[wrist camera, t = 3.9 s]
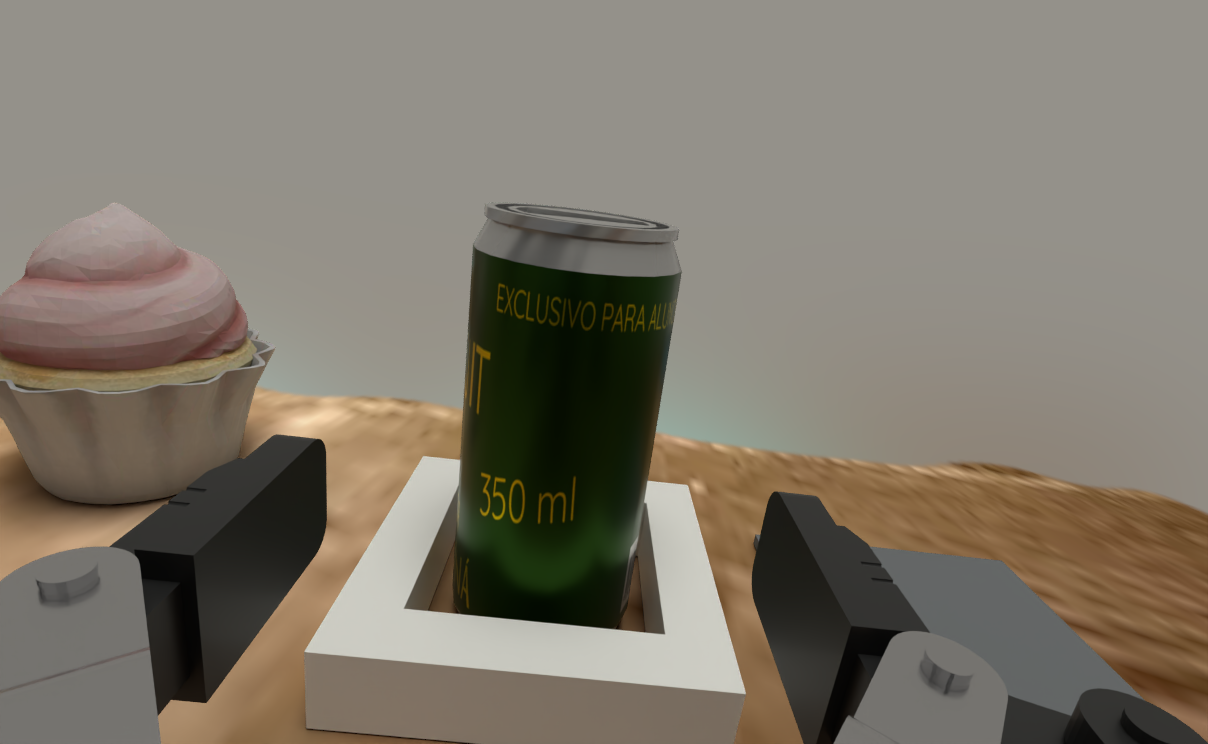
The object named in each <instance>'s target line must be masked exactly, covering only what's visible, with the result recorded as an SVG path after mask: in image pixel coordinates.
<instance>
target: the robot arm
mask: <svg viewBox="0 0 1208 744" xmlns="http://www.w3.org/2000/svg"><path fill="white" fill-rule="evenodd" d="M326 521H327V493H326V449H325V445H324V443H323V441H322V440H320V439H313V438H304V437H295V436H287V435H274V436H272V437H271V438H270V439H268V440H267V441H266V442H265V443H263V444H262V445H261V446H260V447H259V448H257V449H256V450H255V451H254V452H252V453H251V454H250V455H249V456H248V457H246V458H245V459H241V458H238V459H235V460H233V461H230V462H228V463H226V464H223V465H221V466H218V467H216V468H214V469H211V470H209V471H207V472H206V473H204V474H203V475H202V476H201V477H199V478H198V479H197V480H195V481H194V482H193V483H191V484H190V485H189V486H188V487H187V489H186V491H183V490H182V491H181V492H180V493H179V494H177V495H176V496H175V497H173V498H172V499H171V500H169V503H168V505H163V506H162V507H160V508H159V509H158V510H156V511H155V512H154V513H153V514H151V515H150V516H149V517H147V518H146V519H145V520H143V521H142V522H141V523H140V524H138V525H137V526H136V527H134V528H133V529H132V530H130V531H129V532H128V533H127V534H125V535H124V536H123V537H121V538H120V539H119V540H118V541H116V542H115V543H114V544H112V545H111V546H110V547H86V548H79V549H73V550H68V551H63V552H59V553H56V554H52V555H49V556H46V557H43V558H40V559H38V560H35V561H33V562H31V563H29V564H26V565H24V566H22V567H20V568H19V569H17V570H15V571H14V572H12V573H11V574H9V575H8V576H6V577H5V578H4V579H3V580H1V581H0V744H161V740H160V731H159V723H158V715H159V714H160V713H161V711H162V710H163V709H164V708H165V706H166V705H167V704H168V703H169V702H170V700H179V701H190V702H201V703H207V702H208V700H209V699H210V698H211V696H212V695H213V693H214V692H215V691H216V689H217V688H218V687H219V685H220V684H221V683H222V681H223V680H224V679H225V677H226V676H227V675H228V673H229V672H230V670H231V669H232V668H233V666H234V665H235V664H236V662H237V661H238V660H239V658H240V657H241V656H242V654H243V653H244V651H245V650H246V649H247V647H248V646H249V645H250V643H251V642H252V641H253V639H254V638H255V637H256V635H257V634H258V633H259V631H260V630H261V628H262V627H263V626H264V624H265V623H266V622H267V620H268V619H269V618H270V616H271V615H272V614H273V612H274V611H275V609H276V608H277V607H278V605H279V604H280V603H281V601H282V600H283V599H284V597H285V596H286V595H287V593H288V592H289V591H290V589H291V588H292V586H293V585H294V584H295V582H296V581H297V580H298V578H299V577H300V576H301V574H302V573H303V572H304V570H305V569H306V567H307V566H308V565H309V563H310V562H311V561H312V559H313V558H314V557H315V555H316V554H317V552H318V550H319V548H320V546H321V543H322V541H323V537H324V534H325V529H326ZM881 565H882V564H881V562H880V561H879V559H878V558H877V556H876V555H875V554H874V552H873V551H872V549H871V548H870V547H869V545H868V544H867V543H866V542H864V541H863V540H862V539H860V538H859V537H858V536H857V535H855V534H854V533H853V532H851V531H850V530H849V529H847V528H846V527H845V526H837V525H836V524H835V522H834V521H833V519H832V518H831V516H830V515H829V513H828V512H827V510H826V509H825V507H824V506H823V504H822V502H821V501H820V499H819V498H818V497H816V496H811V495H802V494H794V493H785V492H773V493H772V495H771V496H770V498H769V501H768V504H767V508H766V513H765V517H764V521H763V526H762V530H761V534H760V538H759V543H758V547H757V551H756V556H755V560H754V564H753V571H752V593H753V599H754V603H755V606H756V608H757V611H758V614H759V617H760V620H761V623H762V625H763V628H764V631H765V634H766V637H767V640H768V643H769V645H770V648H771V651H772V654H773V657H774V660H775V663H776V665H777V668H778V671H779V674H780V677H781V680H782V683H783V685H784V688H785V691H786V694H787V697H788V700H789V703H790V705H791V708H792V711H793V714H794V717H795V720H796V723H797V725H798V728H799V731H800V734H801V737H802V740H803V743H804V744H1208V743H1207V742H1206V741H1205V740H1204V739H1203V738H1202V737H1201V736H1200V735H1199V734H1197V733H1196V732H1195V731H1194V730H1192V729H1191V728H1190V727H1189V726H1187V725H1186V724H1184V723H1183V722H1182V721H1180V720H1179V719H1177V718H1176V717H1174V716H1172V715H1171V714H1169V713H1168V712H1166V711H1164V710H1162V709H1161V708H1159V707H1157V706H1155V705H1153V704H1151V703H1149V702H1147V701H1144V700H1142V699H1140V698H1137V697H1135V696H1132V695H1129V694H1126V693H1123V692H1119V691H1115V690H1110V689H1101V688H1097V689H1090V690H1087V691H1085V692H1084V693H1082V694H1081V696H1080V698H1079V700H1078V702H1077V704H1076V707H1075V709H1074V711H1073V713H1072V715H1071V716H1070V715H1067V714H1064V713H1061V712H1058V711H1055V710H1052V709H1049V708H1046V707H1043V706H1040V705H1037V704H1033V703H1030V702H1027V701H1024V700H1021V699H1018V698H1015V697H1013V696H1010V695H1008V692H1007V689H1006V686H1005V684H1004V682H1003V680H1002V679H1001V678H1000V676H999V675H998V673H997V672H996V671H995V670H994V669H993V668H992V667H991V666H990V665H989V664H988V663H987V662H986V661H985V660H983V659H982V658H981V657H979V656H978V655H977V654H975V653H974V652H972V651H971V650H969V649H968V648H966V647H964V646H962V645H960V644H958V643H957V642H955V641H952V640H950V639H947V638H945V637H942V636H939V635H936V634H932V633H930V632H929V630H928V629H927V627H926V626H925V625H924V623H923V622H922V620H921V619H920V617H919V616H918V615H917V613H916V612H915V610H914V609H913V607H912V606H911V605H910V603H909V602H908V600H907V599H906V598H905V596H904V595H903V593H902V592H901V590H900V589H899V588H898V586H897V585H896V584H893V579H892V578H891V576H890V575H889V573H888V572H887V571H886V569H885V568H882V566H881Z"/></svg>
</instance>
